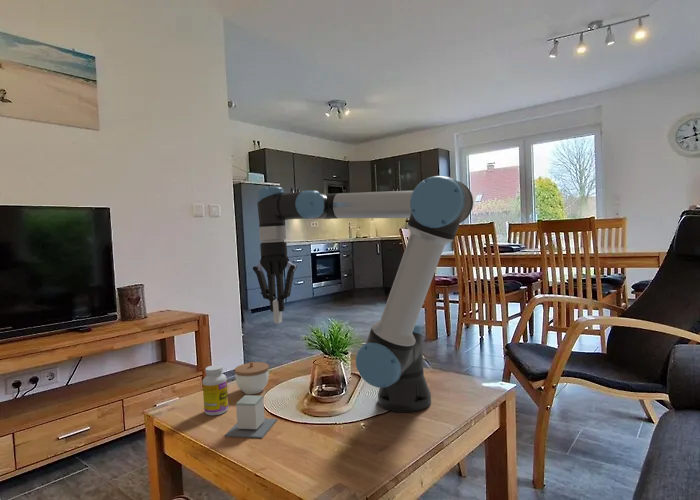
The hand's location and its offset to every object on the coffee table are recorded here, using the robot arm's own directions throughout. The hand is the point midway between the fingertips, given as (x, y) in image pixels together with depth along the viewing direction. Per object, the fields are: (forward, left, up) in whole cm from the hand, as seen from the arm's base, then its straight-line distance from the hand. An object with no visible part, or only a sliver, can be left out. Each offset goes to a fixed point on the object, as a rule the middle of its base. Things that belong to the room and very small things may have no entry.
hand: (278, 322), depth 125 cm
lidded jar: (+14, -10, -25) cm, 30 cm away
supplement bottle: (+18, +6, -25) cm, 31 cm away
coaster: (+3, +15, -24) cm, 29 cm away
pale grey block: (+3, +15, -23) cm, 28 cm away
